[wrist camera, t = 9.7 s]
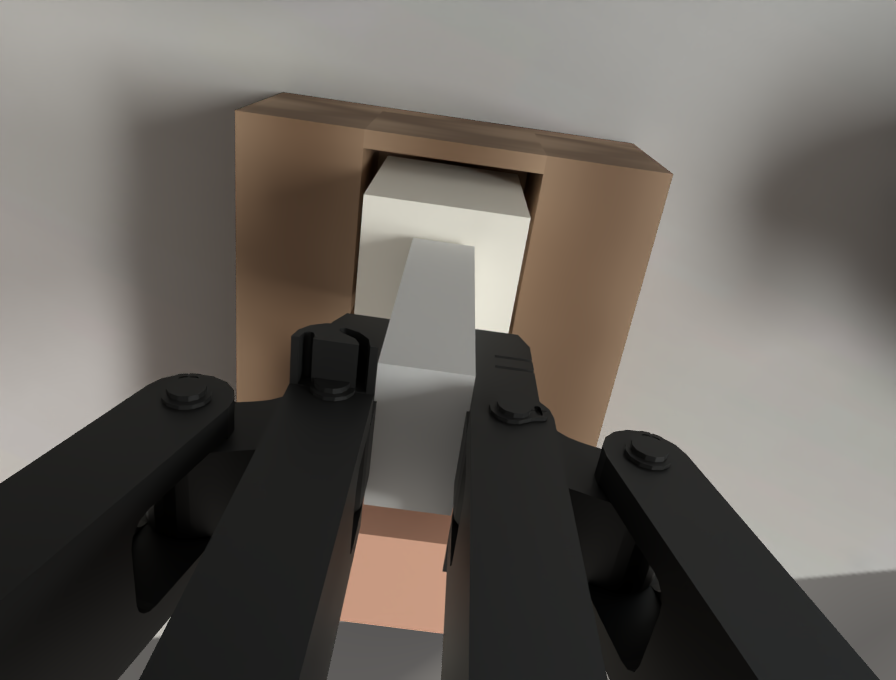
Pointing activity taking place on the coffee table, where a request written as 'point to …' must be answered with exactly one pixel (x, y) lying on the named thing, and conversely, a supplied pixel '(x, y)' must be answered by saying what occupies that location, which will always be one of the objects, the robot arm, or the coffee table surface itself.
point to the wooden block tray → (456, 143)
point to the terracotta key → (398, 570)
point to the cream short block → (442, 232)
